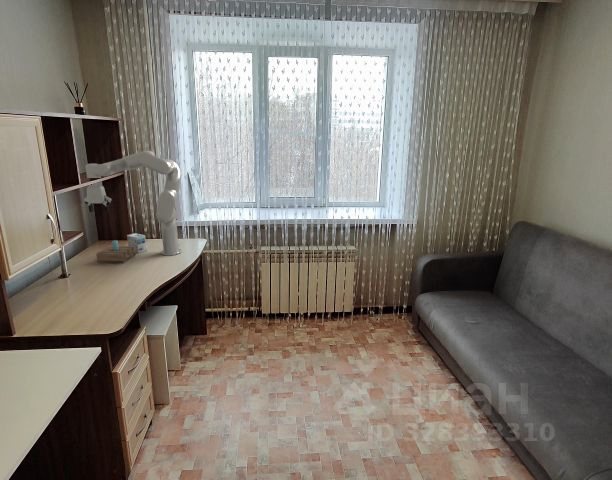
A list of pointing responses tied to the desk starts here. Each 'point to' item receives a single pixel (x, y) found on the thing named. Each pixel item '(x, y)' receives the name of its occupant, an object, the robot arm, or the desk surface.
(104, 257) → the walnut socket block
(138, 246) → the light bulb box
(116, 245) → the teal peg
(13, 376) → the desk surface
